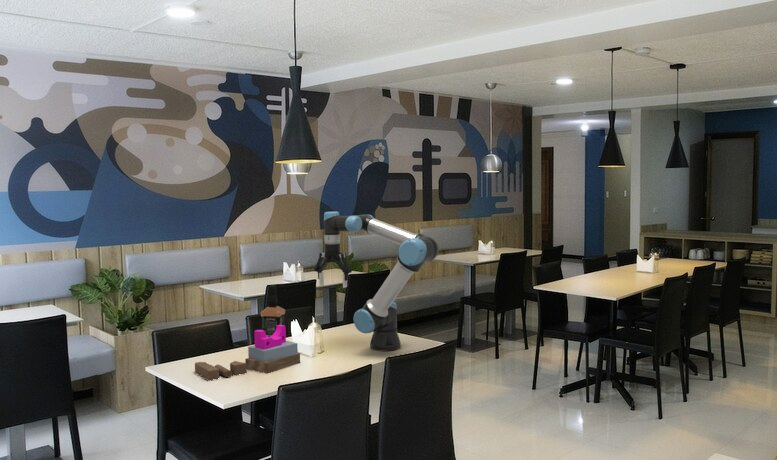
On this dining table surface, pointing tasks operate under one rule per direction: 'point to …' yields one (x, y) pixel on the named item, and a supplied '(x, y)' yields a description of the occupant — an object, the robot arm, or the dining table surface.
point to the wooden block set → (220, 370)
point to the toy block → (270, 338)
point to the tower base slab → (272, 364)
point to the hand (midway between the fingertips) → (333, 286)
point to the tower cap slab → (273, 352)
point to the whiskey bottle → (272, 313)
